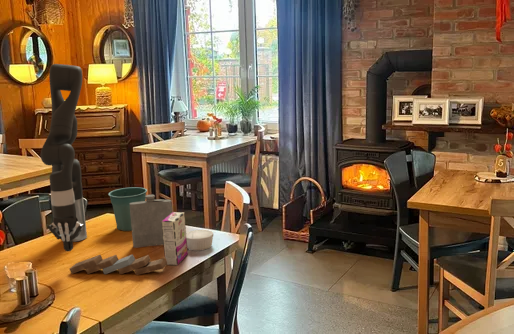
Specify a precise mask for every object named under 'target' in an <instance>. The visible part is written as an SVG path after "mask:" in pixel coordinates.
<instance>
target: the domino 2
mask: <svg viewBox="0 0 514 334" xmlns="http://www.w3.org/2000/svg"><path fill="white" fill-rule="evenodd" d="M102 259H103V260H102V261H101V262H99V263H98V264H97V265H95V266H92V267H90V268H87V269H84V270H85V272H86V274H87V275H89V274H93V273H94V272H95V273H96V272H98V271H100V270H102V269H104V268H106V267H109V266H112V265H113V264H115V263H116V262H117V261H118V260H119V258H118V256H117V254H114V255H111V256H108V257H106V258H102Z"/></svg>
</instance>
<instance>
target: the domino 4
mask: <svg viewBox="0 0 514 334" xmlns="http://www.w3.org/2000/svg"><path fill="white" fill-rule="evenodd" d="M151 261H152V259H151V257H150V255H149V254H147V255H144V256H142V257H139V258H135V260H134V261H133V262H132V263H131V264H130V265H128V266H126V267H123V268H120V269H118V270H117V271H118V273H119V275H123V274H125V273H129V272H132V271H134V270H135V269H138V268H140V267H143V266H146V265H147V264H148V263H149V262H151Z"/></svg>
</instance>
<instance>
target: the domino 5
mask: <svg viewBox="0 0 514 334" xmlns="http://www.w3.org/2000/svg"><path fill="white" fill-rule="evenodd" d="M166 266H168V265H167V260H166V258H165V257H164V258H161V259H155V260H150V262H149V263H148V264H147V265H146V266H143V267H140V268H138V269H135V270H133V271H134V274H135V276H138V275H143V274H147V273H151V272H152V273H153V272H155V271H159V270H164V268H165V267H166Z"/></svg>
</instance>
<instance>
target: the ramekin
mask: <svg viewBox="0 0 514 334" xmlns="http://www.w3.org/2000/svg"><path fill="white" fill-rule="evenodd" d="M213 237H214V232H213V231H212V230H209V229H196V230H190V231H188V232H187V231H186V239H187V250H191V251H194V252H195V251H196V252H197V251H199V252H200V251H205V249H206V250H208V249H210V248H211V247H212V245H213Z"/></svg>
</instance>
